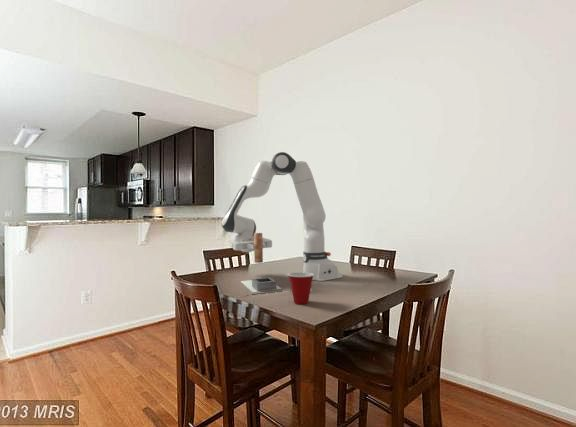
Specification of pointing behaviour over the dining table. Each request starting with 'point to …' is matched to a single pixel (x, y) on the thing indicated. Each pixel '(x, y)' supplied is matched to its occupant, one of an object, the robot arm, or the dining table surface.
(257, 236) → the peg
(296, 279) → the plastic cup
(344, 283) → the dining table surface
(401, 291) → the dining table surface
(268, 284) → the board
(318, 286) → the dining table surface
